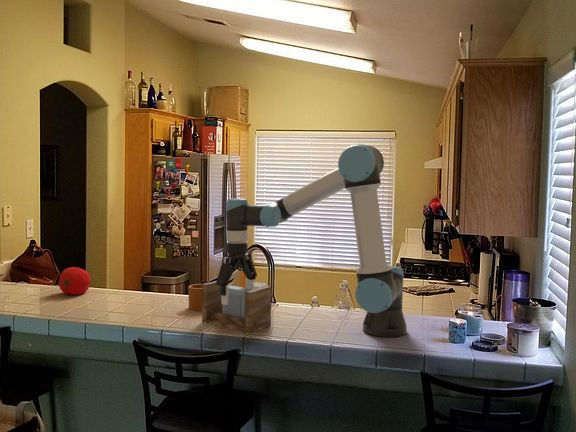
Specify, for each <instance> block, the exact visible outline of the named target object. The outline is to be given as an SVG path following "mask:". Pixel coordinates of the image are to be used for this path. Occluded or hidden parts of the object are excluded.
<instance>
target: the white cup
mask: <svg viewBox="0 0 576 432" xmlns="http://www.w3.org/2000/svg"><path fill="white" fill-rule="evenodd" d="M265 286H267V284H266V283H265V282H259V281H258V282H255V281H253V290H254V289H258V288H261V287H265Z"/></svg>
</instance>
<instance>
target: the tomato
mask: <svg viewBox="0 0 576 432" xmlns="http://www.w3.org/2000/svg"><path fill="white" fill-rule="evenodd" d="M91 281H92V279H91V276H90V274H89V272H88V271H86V270H84V269H83V268H81V267H76V266H72V267H67V268H65V269H64V270H63V271H62V272H61V274H60V278H59V280H58V286H59V289H60V291H61V292H62V293H63V294H66V295H74V296H76V295H77V296H78V295H83V294H84V293H86V292H87V291H88V290H89V288H90V285H91Z"/></svg>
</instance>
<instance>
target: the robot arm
mask: <svg viewBox="0 0 576 432" xmlns="http://www.w3.org/2000/svg"><path fill="white" fill-rule="evenodd" d="M339 155H340V156H339V158H338V163H337V166H338V167H336V169H334V170H331V171H329V172H328V173H325V175H323V176H320V177H319V178H317V179H315V180H313V181H311V182H309V183H308V184H306V185H304V186H302V187H300V188H299V189H297V190H294V191H293V192H291V193H289V194H287V195H286V196H284V197H282V198H280V199H278V200H276V201H275V202H272V203H267V204H266V203H264V204H249V203H248V200H247V198H239V197H238V198H236V197H235V198H228V199H227V200H226V206H225V207H226V209H225V216H226V217H225V218H226V219H225V220H226V225H225V226H226V241H227V242H226V245H225V246H226V253H227V254H228V257H227V256H226V257H222V258H221V265H220V269H219V272H218V275H217V278H216V280H215V281H216V285H218V286H220V287H221V304H224V305H229V282H230V280H231V278H232V276H233V273H234V272H235V271H236V270H237V269H239V268H240V269H241V271H242V272H243V274H244V276H245V277H246V279H245V280H244V281H245V282H244V283H245V285H244V286H245V287H244V288H249V289H251V290H253V282H254V280H256V278H257V276H258V274H257V271H256V267H255V264H254V261H253V259H252V256H253V255H252V253H249V252H248V251H249V250H248V249H249V248H248V247H249V246H248V244H249V243H248V242H247V241H248V240H249V239H248V236H249V235H248V233H249V232H248V230H249V229H248V228H249V227H266V228H272V227H273V228H274V227H278V226H279V224H281V223H284V222H286V221H287V220H289V219H290V218H291V217H293V216H295V215H297V214H299V213H300V212H303V211H304V210H306V209H308V208H311V207H312V206H314V205H316V204H318V203H320V202H322V201H324V200H326V199H327V198H330V197H331V196H333V195H336V194H337V193H340V192H341V191H343V190H346V191H348V193H349V194H350V201H351V209H352V215H353V222H354V223H353V224H354V230H355V238H356V245H357V254H358V260H359V267H358V268H357V270H356V271H355V275H356V281H357V285H356V288H355V290H354V291H355V292H354V297H355V300H356V302H357V304H358V306H359V307H360V308H361V309H362V310H363V311H365V312H366V314H365V317H364V320H363V322H362V331H363V332H364V333H365V334H367V335H372V336H375V337H381V338H394V337H395V338H396V337H402V336H405V335H406V334H407V332H408V331H407V329H408V327H407V322H406V319H405V315H404V312H403V297H404V296H403V293H404V291H403V290H404V277H405V275H404V269H403V268H402V267H401V266H400V267H399V266H393V265H389V264H388V263H387V258H386V249H385V242H384V235H383V227H382V220H381V219H382V218H381V212H380V211H381V210H380V204H379V202H380V201H379V197H378V188H379V187H380V186H381V185H382V182H381V175H380V174H381V173H382V171H383V169H384V167H385V166H384V165H385V161H384V159H385V158H384V156H383V154H382V153H381V151H380V150H379V149H378V148H376V147H374V146H373V145H372V146H371V145H365V144H361V143H359V144H354V145H350V146H348V147H346V148H345V149H344V150H343V151H342V152H341V154H339ZM248 226H249V227H248ZM220 281H221V282H220ZM224 282H225V283H224ZM227 284H228V286H227Z"/></svg>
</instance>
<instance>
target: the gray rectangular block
mask: <svg viewBox="0 0 576 432" xmlns="http://www.w3.org/2000/svg"><path fill="white" fill-rule="evenodd" d="M228 286H229V305H224V304H222V314H226V315H231V316H236V317H240V318H245V319H246V292H247V291H250V290H251V289H249V288H246V287H241V286H237V285H236V286H235V285H229V284H228Z"/></svg>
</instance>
